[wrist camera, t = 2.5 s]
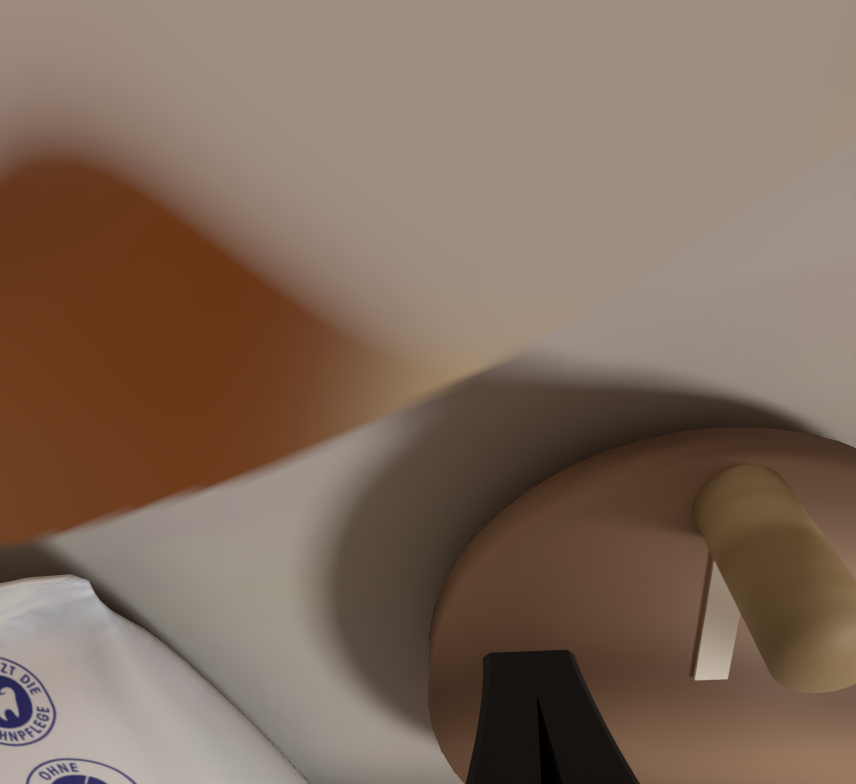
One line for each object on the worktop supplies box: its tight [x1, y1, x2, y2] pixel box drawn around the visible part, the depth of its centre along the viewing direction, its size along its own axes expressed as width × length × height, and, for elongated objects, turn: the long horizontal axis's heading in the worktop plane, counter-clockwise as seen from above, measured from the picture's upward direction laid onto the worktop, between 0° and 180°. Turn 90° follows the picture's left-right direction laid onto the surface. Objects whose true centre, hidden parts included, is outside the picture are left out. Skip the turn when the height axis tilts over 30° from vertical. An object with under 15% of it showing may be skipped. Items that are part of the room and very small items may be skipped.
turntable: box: [429, 427, 856, 784], centre depth 17 cm, size 14×14×6 cm
